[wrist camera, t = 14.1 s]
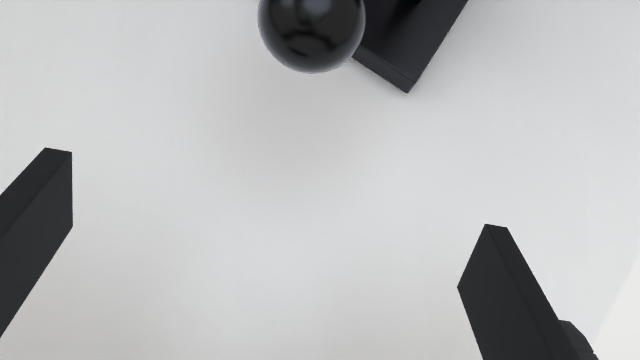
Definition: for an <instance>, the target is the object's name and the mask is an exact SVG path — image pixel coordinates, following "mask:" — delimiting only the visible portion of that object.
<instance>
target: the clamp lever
mask: <svg viewBox="0 0 640 360" xmlns="http://www.w3.org/2000/svg"><path fill="white" fill-rule="evenodd" d="M258 26H259V31H260V34H261V37H262V40H263V42H264V44H265V46H266V48H267V49H268V51H269V52H270V53H271V54H272V55H273V56H274V57H275V58H276V59H277V60H278V61H279V62H280V63H281V64H283V65H284V66H286V67H288V68H290V69H292V70H295V71H298V72H302V73H309V74H312V73H323V72H327V71H330V70H332V69H335V68H337V67H338V66H340V65H342V64H343V63H344V62H346V61H347V60H348V59H349V58H350V57H351V56H352V55H353V54H354V52H355V51H356V50H357V48H358V46H359V45H360V43H361V41H362V38H363V36H364V32H365V28H366V6H365V2H364V0H260V3H259V7H258Z"/></svg>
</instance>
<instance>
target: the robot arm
mask: <svg viewBox="0 0 640 360" xmlns="http://www.w3.org/2000/svg"><path fill="white" fill-rule="evenodd" d="M72 227H73V210H72V152H68V151H63V150H57V149H51V148H44V149H43V150H42V151H41V152H40V153H39V154H38V156H37V157H36V158H35V159H34V160H33V161H32V162H31V163H30V164H29V165H28V166H27V167H26V168H25V169H24V170H23V172H22V173H21V174H20V175H19V176H18V177H17V178H16V179H15V180H14V181H13V182H12V183H11V184H10V185H9V186H8V188H7V189H6V190H5V191H4V192H3V193H2V194H1V195H0V337H1V336H2V334H3V333H4V331H5V330H6V328H7V327H8V325H9V324H10V322H11V321H12V319H13V318H14V316H15V314H16V313H17V311H18V310H19V308H20V307H21V305H22V304H23V302H24V301H25V299H26V298H27V296H28V295H29V293H30V291H31V290H32V288H33V287H34V285H35V284H36V282H37V281H38V279H39V278H40V276H41V275H42V273H43V272H44V270H45V268H46V267H47V265H48V264H49V262H50V261H51V259H52V258H53V256H54V255H55V253H56V252H57V250H58V249H59V247H60V245H61V244H62V242H63V241H64V239H65V238H66V236H67V235H68V233H69V232H70V230H71V229H72ZM457 288H458V291H459V294H460V297H461V299H462V302H463V305H464V308H465V311H466V313H467V316H468V319H469V322H470V324H471V327H472V330H473V333H474V335H475V338H476V341H477V344H478V346H479V349H480V352H481V355H482V357H483V360H598V358H597V356H596V355H595V354H593V350H592V348H591V346H590V344H589V343H588V341H587V339H586V338H585V336H584V335H583V334H582V333H581V332H580V331H579V330H578V329H577V328H576V327H575V326H574V325H573V324H572V323H571V322H570V321H563V320H558V318H557V316H556V314H555V312H554V311H553V309H552V307H551V305H550V304H549V302H548V300H547V298H546V296H545V295H544V293H543V291H542V289H541V287H540V286H539V284H538V282H537V280H536V279H535V277H534V275H533V273H532V271H531V270H530V268H529V266H528V264H527V263H526V261H525V259H524V257H523V255H522V254H521V252H520V250H519V248H518V246H517V245H516V243H515V241H514V239H513V238H512V236H511V234H510V232H509V230H508V229H507V227H501V226H495V225H489V224H485V225H484V227H483V230H482V232H481V234H480V236H479V239H478V241H477V243H476V245H475V248H474V250H473V252H472V254H471V257H470V259H469V261H468V263H467V266H466V268H465V270H464V272H463V275H462V277H461V279H460V281H459V284H458V286H457Z"/></svg>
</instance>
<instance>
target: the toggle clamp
mask: <svg viewBox="0 0 640 360" xmlns="http://www.w3.org/2000/svg"><path fill="white" fill-rule="evenodd" d="M467 1H468V0H364V2H365V6H366V28H365V32H364V36H363V38H362V41H361V43H360V45H359V46H358V48H357V50H356V51H355V52H354V54H353V55H352V56H351V57H353V58H354V59H356V60H357V61H359V62H360V63H362V64H363V65H365V66H367V67H368V68H370V69H371V70H373V71H374V72H376V73H377V74H379V75H380V76H382V77H383V78H385V79H386V80H388V81H389V82H391V83H392V84H394V85H395V86H397V87H398V88H400V89H401V90H403V91H405V92H406V93H408V92H409V91H410V90H411V89H412V87H413V86H414V85H415V84H416V82H417V81H418V79H419V78H420V76H421V74H422V73H423V71H424V70H425V68H426V66H427V65H428V63H429V62H430V60H431V59H432V57H433V55H434V54H435V52H436V51H437V49H438V47H439V46H440V44H441V43H442V41H443V39H444V38H445V36H446V35H447V33H448V32H449V30H450V28H451V27H452V25H453V24H454V22H455V20H456V19H457V17H458V16H459V14H460V13H461V11H462V9H463V8H464V6H465V5H466V3H467Z"/></svg>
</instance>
